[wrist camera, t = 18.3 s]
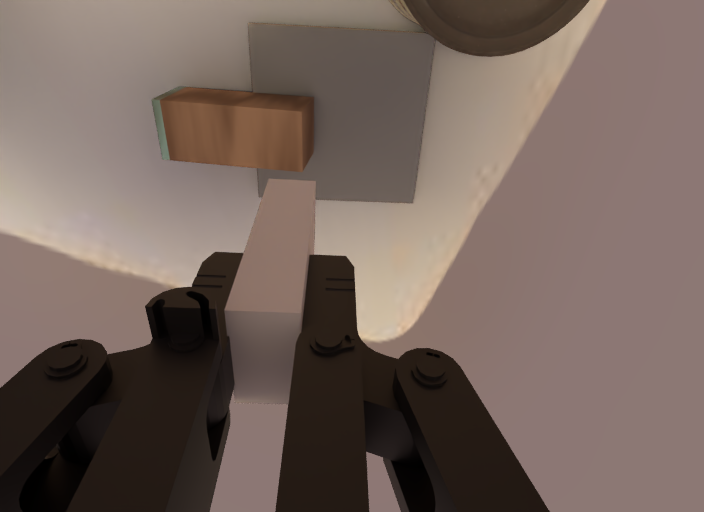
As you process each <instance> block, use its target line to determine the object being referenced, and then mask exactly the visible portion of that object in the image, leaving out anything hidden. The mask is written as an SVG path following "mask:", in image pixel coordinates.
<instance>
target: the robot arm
mask: <svg viewBox="0 0 704 512" xmlns="http://www.w3.org/2000/svg"><path fill="white" fill-rule="evenodd" d="M315 194H316V181H306V180H286V179H268V182H267V185H266V188H265V191H264V194H263V197H262V200H261V203H260V206H259V209H258V212H257V215H256V218H255V221H254V224H253V227H252V230H251V233H250V236H249V239H248V242H247V245H246V248H245V251H244V253H227V252H215V253H213V254H212V255H211V256H210V257H208V258H207V259H206V260H205V261H204V262H202V264H201V267H200V269H199V271H198V273H197V277H195V279H194V282H193V284H192V287H183V288H175V289H171V290H168V291H165V292H162V293H161V294H159V295H157V296H155V297H154V298H152V299H151V300H150V302H149V303H148V304H147V305H146V306H145V308H146V312H147V317H148V321H149V325H150V329H151V334H152V337H153V339H152V341H151V343H150V344H149V345H146V346H144V347H140V348H137V349H133V350H128V351H123V352H117V353H113V354H107V351H106V350H105V348H104V347H103V346H102V344H100V343H98V342H95V341H93V340H85V339H77V340H71V341H66V342H63V343H60V344H57V345H55V346H52V347H50V348H48V349H47V350H45V351H44V352H42V353H41V354H39V355H38V356H36V357H35V358H34V359H33V360H32V361H31V362H29V363H28V364H27V365H26V366H25V367H24V368H23V369H22V370H20V371H19V372H18V373H17V374H16V375H15V376H14V377H12V378H11V379H10V380H9V381H8V382H7V383H6V384H4V385H3V387H1V388H0V512H210V507H211V503H212V499H213V495H214V490H215V486H216V482H217V478H218V473H219V469H220V465H221V461H222V456H223V452H224V448H225V444H226V440H227V436H228V431H229V427H230V410H229V404H230V400H231V396H232V392H233V390H234V399H235V403H258V404H262V403H263V404H288V412H287V420H286V429H285V437H284V445H283V453H282V462H281V470H280V478H279V486H278V495H277V503H276V511H275V512H369V499H368V480H367V461H366V452H369V453H372V454H375V455H378V456H381V457H383V461H384V464H385V467H386V469H387V472H388V475H389V478H390V481H391V484H392V487H393V490H394V493H395V495H396V498H397V501H398V504H399V507H400V510H401V512H550V511H549V510H548V508H547V507H546V505H545V504H544V502H543V500H542V499H541V497H540V495H539V494H538V492H537V490H536V489H535V487H534V485H533V484H532V482H531V481H530V479H529V478H528V476H527V474H526V473H525V471H524V469H523V468H522V466H521V464H520V463H519V461H518V460H517V458H516V456H515V455H514V453H513V452H512V450H511V448H510V447H509V445H508V443H507V442H506V440H505V439H504V437H503V435H502V434H501V432H500V430H499V429H498V427H497V425H496V424H495V422H494V421H493V419H492V417H491V416H490V414H489V413H488V411H487V409H486V408H485V406H484V404H483V403H482V401H481V399H480V398H479V396H478V395H477V393H476V391H475V390H474V388H473V386H472V385H471V383H470V382H469V380H468V378H467V377H466V375H465V374H464V372H463V370H462V369H461V367H460V366H459V365H458V364H457V363H456V361H454V359H453V358H451V357H450V356H448V355H446V354H445V353H443V352H441V351H437V350H433V349H430V348H416V349H413V350H410V351H407V352H405V353H404V354H403V355H402V356H401V357H400V358H399V359H396V358H392V357H389V356H386V355H383V354H380V353H378V352H375V351H374V350H372V349H370V348H369V347H367V346H366V344H365V343H363V342H362V340H361V338H360V337H359V335H358V331H357V318H356V297H355V276H354V266H353V265H352V264H351V262H350V261H349V260H348V258H347V257H346V256H331V255H314V239H315Z"/></svg>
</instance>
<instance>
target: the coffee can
mask: <svg viewBox="0 0 704 512" xmlns="http://www.w3.org/2000/svg"><path fill="white" fill-rule="evenodd" d="M389 1H390V2H391V4H392V5H393V6H394V7H395V8H396V9H397V10H398V11H399V12H400V13H401V14H402V15H403V16H405V17H406V18H408V19H409V20H411V21H413V22H415V23H417V24H419V25H420V26H421V27H422V28H423V29H424V30H425V31H426V32H427V33H428V34H429V35H430V36H432V37H433V38H434V39H436V40H437V41H439V42H440V43H442V44H443V45H445V46H447V47H449V48H451V49H453V50H455V51H458V52H461V53H465V54H469V55H475V56H488V57H492V56H504V55H509V54H513V53H517V52H520V51H523V50H526V49H528V48H530V47H533V46H535V45H537V44H539V43H540V42H542V41H544V40H546V39H547V38H549V37H550V36H552V35H553V34H555V33H556V32H558V31H559V30H560V29H561V28H563V27H564V26H565V25H566V24H568V23H569V22H570V21H571V20H572V19H573V18H574V17H575V16H576V15H577V14H578V13H579V12H580V11H581V10H582V9H583V8H584V6H585V5H586V4H587V3H588V2H589V0H389Z"/></svg>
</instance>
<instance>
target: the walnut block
mask: <svg viewBox="0 0 704 512" xmlns="http://www.w3.org/2000/svg"><path fill="white" fill-rule="evenodd" d="M152 105H153V110H154V115H155V121H156V126H157V132H158V137H159V143H160V148H161V154H162V159H163V160H174V161H185V162H196V163H207V164H218V165H229V166H240V167H251V168H262V169H273V170H284V171H294V172H303V170H304V169H305V167H306V165H307V163H308V162H309V160H310V158H311V156H312V155H313V153H314V97H305V96H292V95H280V94H267V93H255V92H242V91H229V90H217V89H204V88H191V87H177V88H175V89H173V90H171V91H169V92H166V93H164V94H162V95H160V96H158V97H156V98H154V99H152Z"/></svg>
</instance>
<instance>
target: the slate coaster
mask: <svg viewBox="0 0 704 512" xmlns="http://www.w3.org/2000/svg"><path fill="white" fill-rule="evenodd" d="M248 34H249V50H250V65H251V81H252V92H255V93H267V94H280V95H292V96H305V97H314V153H313V155H312V156H311V158H310V160H309V162H308V163H307V165H306V167H305V169H304V170H303V172H294V171H284V170H273V169H262V168H257V175H258V191H259V197H263V194H264V191H265V188H266V185H267V182H268V179H286V180H306V181H316V194H315V199H316V200H341V201H366V202H391V203H413V198H414V191H415V184H416V177H417V169H418V162H419V155H420V147H421V140H422V133H423V125H424V118H425V111H426V104H427V96H428V89H429V82H430V74H431V67H432V60H433V53H434V45H435V39H434V38H433V37H432V36H430V35H429V34H428V33H427V32H409V31H392V30H374V29H356V28H339V27H321V26H303V25H286V24H268V23H248Z"/></svg>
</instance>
